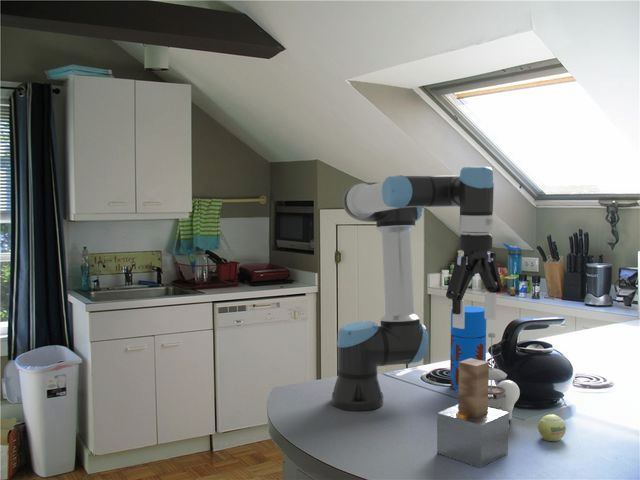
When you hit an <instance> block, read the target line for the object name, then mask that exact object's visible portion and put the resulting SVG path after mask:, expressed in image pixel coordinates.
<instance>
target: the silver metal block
mask: <svg viewBox="0 0 640 480" xmlns="http://www.w3.org/2000/svg"><path fill="white" fill-rule="evenodd" d="M436 415H437V420H436V421H437V427H436V431H437V432H436V435H437V436H436V438H437V439H436V440H437V441H436V442H437V443H436V445H437V446H436V454H437V455H440V454H441V455H440V456H443V455H444V456H443V457H446V456H447V458H449V457H450V458H449V459H452V458H453V459H452V460H455V459H456V460H455V461H458V460H460V461H459V462H461V461H462V462H461V463H464V462H465V463H464V464H467V463H468V464H467V465H470V464H472V465H471V466H473V465H475V466H474V467H476V466H478V467H477V468H479V467H482V466H484V465H485V466H487V465H489V464H491V463H492V462H491V461H493V460H495V459H496V460H498V459H500V458H502V457H503V455H504V456H506V455H507V454H509V428H508V426H509V425H510V424H509V423H510V422H509V421H510V420H509V412H505V411H501V410H500V409H499V410H497V409H493V408H489V407H488V414H486V415H483V416H481V417H479V418H474V417H470V416H468V413H466V412H462V411H460V412H458V404H456V405H454V406H451V407H448V408H446V409H444V410H441V411H438V412H437V413H436ZM506 453H507V454H506ZM505 454H506V455H505ZM501 456H502V457H501ZM499 457H500V458H499ZM497 458H498V459H497ZM496 460H495V461H496ZM490 462H491V463H490ZM493 462H494V461H493ZM488 463H489V464H488ZM486 464H487V465H486ZM485 466H484V467H485ZM482 468H483V467H482Z"/></svg>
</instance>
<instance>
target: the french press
mask: <svg viewBox="0 0 640 480" xmlns="http://www.w3.org/2000/svg"><path fill="white" fill-rule="evenodd" d="M487 337H488V338H490V339H491V340H490V341H491V343H490V344H491V346H490V347H491V349H490V350H491V351H490V353H491V354H490V355H491V356H490V357H491V358H490V360H491V361H490V367H489V380H490V385H488V407H489V408H493V409H497V410H501V411H505V412H506V395H505V397H504V398H502V399H498V398H497V395H498V394H502V393H504V392H505V389H503V388H502V387H499V386H497V385H493V383H492V382H493V381H504V380H506V379H507V376H508V374H507V373H506V372H504V371H503V370H501V369H498V368H496V367H495V368H494V367H493V338H496V334H495V333H494V332H489V333H488V334H487ZM489 380H488V381H489ZM490 395H491V396H490ZM494 396H496V397H494ZM510 426H511V425H510V424H509V426H508V429H510Z"/></svg>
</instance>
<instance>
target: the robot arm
mask: <svg viewBox="0 0 640 480" xmlns="http://www.w3.org/2000/svg"><path fill="white" fill-rule="evenodd" d="M459 173H460V174H459V175H450V174H448V175H403V174H402V175H393V176H391V175H390V176H387V177H385V179H384V181H379V182H369V181H368V182H360V183H356V184H354V185H351V186H350V187H349V188H348V189H347V190H346V191H345V192H344V194H343V196H342V206H343V209H344V211H345V212H346V214H347V215H348V216H349V217H351V218H352V219H354V220H357V221H360V222H367V223H370V222H371V223H376V229H377V230H378V231H379V232H380V233H381V238H382V239H381V244H382V245H381V246H382V265H383V266H382V267H383V268H382V269H383V289H384V315H383V316H382V317H381V318H380V326H379V325H378V324H377V323H376V321H375V322H374V321H372V320H371V321H368V320H367V321H362V320H361V321H356V322H355V321H354V322H350V323H346V324H345V325H343V326H341V327H340V328H339V329H338V331H337V341H336V346H337V347H336V348H337V377H336V381H335V384H334V386H333V387H334V388H333V391H332V393H331V404H332V405H333V406H334V407H336V408H337V409H340V410H341V409H342V410H345V411H346V410H347V411H354V412H355V411H357V412H358V411H370V410H376V409H379V408H380V407H382V406H383V404H384V394H383V392H382V389H381V386H380V382H379V378H378V368H379V367H387V366H396V365H405V366H407V365H410V364H415V363H416V364H417V363H420V362H421V361H422V360H423V359H424V358H425V356H426V354H427V351H428V348H429V347H428V346H429V333H428V332H427V327H426V325H424V323H421V319H420V317H419V316H418V315H417V314H416V313H415V303H414V299H415V298H414V282H413V281H414V279H413V275H414V273H413V258H412V257H413V256H412V255H413V254H412V253H413V251H412V231H413V230H414V229H415V228H416V222H417V221H419V220H420V219H421V217H422V212H423V208H427V207H428V208H430V207H431V208H433V207H434V208H438V207H440V208H442V207H443V208H444V207H459V228H458V229H459V232H461V234H459V240H458V241H459V246H458V247H459V248H458V249H459V250H461V251H463V255H455V257H454V262H453V263H454V265H453V268H452V271H451V276H450V279H449V283H448V287H447V291H446V293H445V297H446V298H448V300H452V301H451V302H452V304H451V306H452V307H451V311H452V313H453V327H454V328H460V329H464V321H465V306H466V305H465V304H466V303H465V302H466V300H465V299H464V296H465V293H467V289H468V287H469V285H470V282H471V281H472V278H473V277H475V275H479V277H480V279H481V281H482V283H483V286H484V287H485V289H486V291H485V292H484V309H485V318H484V319H486V320H491V321H496V320H497V293H501V291H502V289H503V283H502V279H501V276H500V272H499V268H498V263H497V259H496V257H497V255H496V252H494V251H492V250H493V238H494V237H493V235H492V234H491V233H492V232H493V224H494V220H493V214H494V213H493V211H494V190H495V188H494V186H495V182H494V170H493V169H492V168H491V167H490V166H463V167H461V170H460V172H459Z"/></svg>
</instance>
